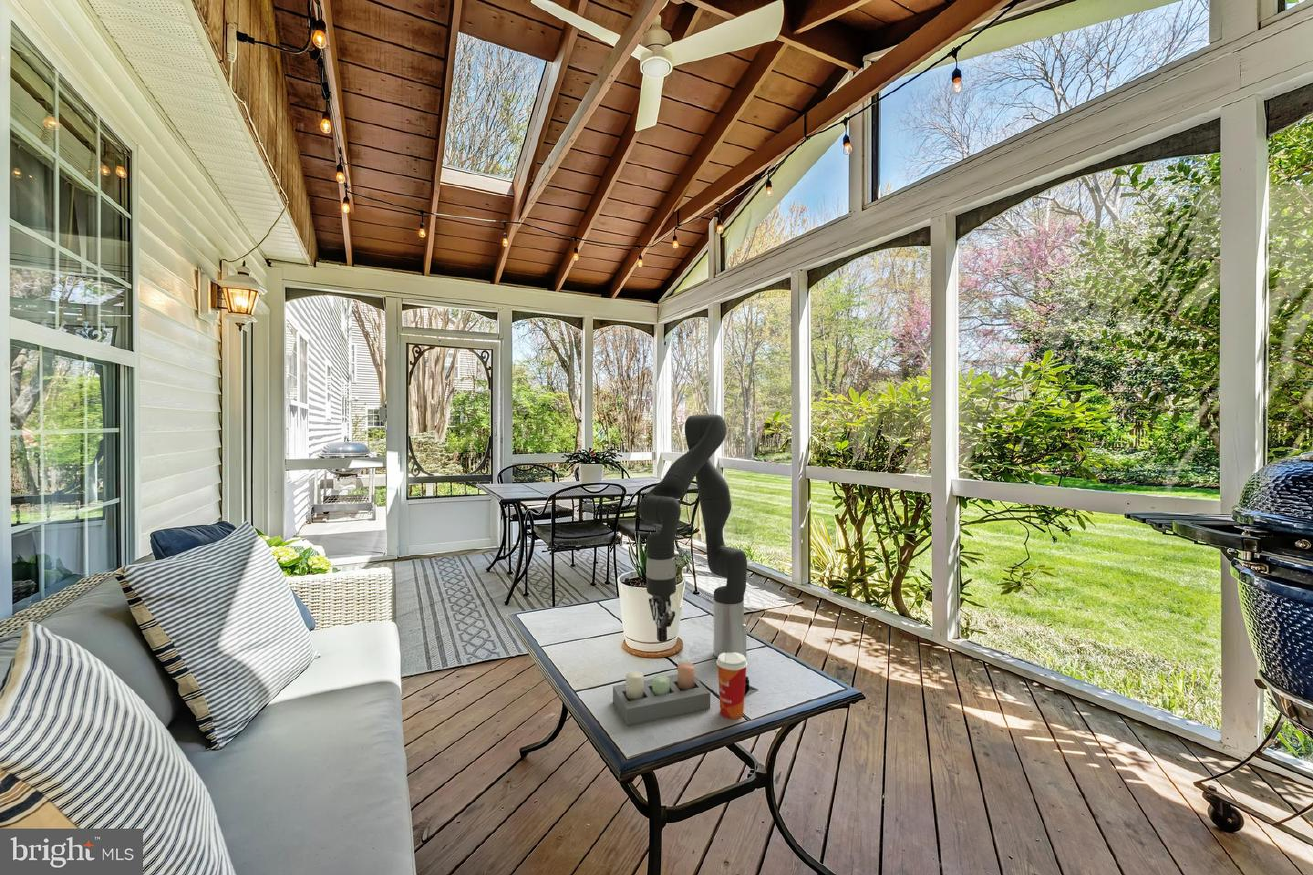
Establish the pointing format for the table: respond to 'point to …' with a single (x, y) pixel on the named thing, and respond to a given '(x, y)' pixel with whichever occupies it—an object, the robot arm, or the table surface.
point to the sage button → (660, 685)
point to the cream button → (634, 685)
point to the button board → (660, 702)
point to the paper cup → (731, 683)
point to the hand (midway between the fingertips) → (661, 640)
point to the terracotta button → (686, 676)
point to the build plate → (749, 688)
